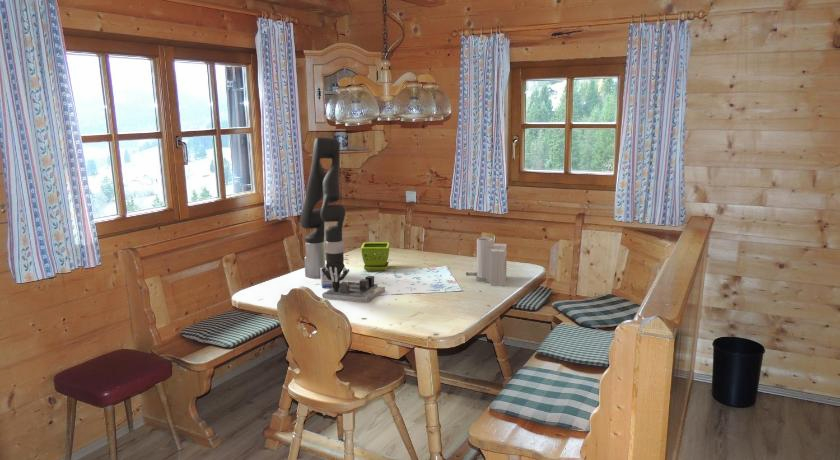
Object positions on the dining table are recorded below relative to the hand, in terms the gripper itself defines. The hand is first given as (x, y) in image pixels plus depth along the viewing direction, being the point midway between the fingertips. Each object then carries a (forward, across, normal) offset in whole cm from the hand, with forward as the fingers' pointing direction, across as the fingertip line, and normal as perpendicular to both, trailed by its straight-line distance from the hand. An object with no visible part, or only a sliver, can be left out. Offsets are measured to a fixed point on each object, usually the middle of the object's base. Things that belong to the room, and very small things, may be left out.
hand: (336, 289), depth 272 cm
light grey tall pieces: (+4, -55, -46) cm, 72 cm away
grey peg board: (+4, -6, -6) cm, 9 cm away
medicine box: (+4, +12, -15) cm, 19 cm away
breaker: (+1, -4, 0) cm, 4 cm away
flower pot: (+4, +4, -50) cm, 50 cm away
